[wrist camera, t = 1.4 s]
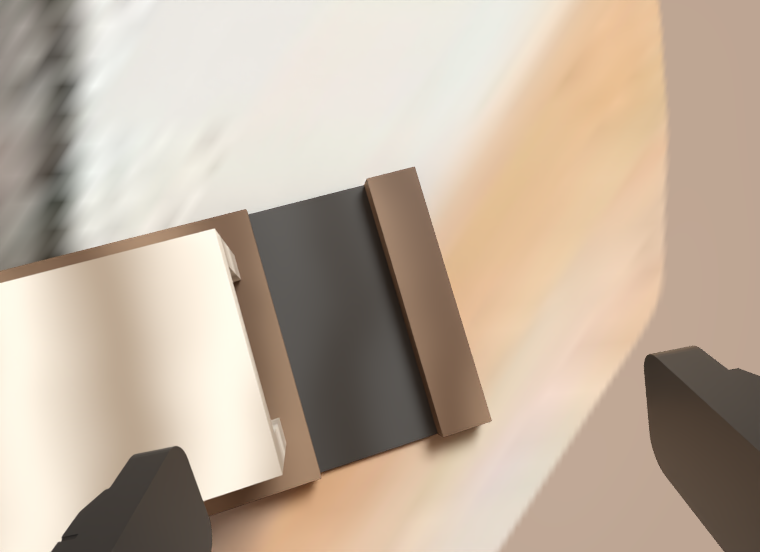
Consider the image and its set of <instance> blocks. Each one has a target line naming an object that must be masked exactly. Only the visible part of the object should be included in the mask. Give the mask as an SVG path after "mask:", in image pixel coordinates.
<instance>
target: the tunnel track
mask: <svg viewBox="0 0 760 552" xmlns="http://www.w3.org/2000/svg"><path fill="white" fill-rule="evenodd" d="M491 421H492V420H491V417H490V413H489V410H488V407H487V403H486V400H485V397H484V393H483V390H482V387H481V384H480V380H479V377H478V374H477V370H476V367H475V364H474V361H473V357H472V354H471V351H470V347H469V344H468V341H467V337H466V334H465V331H464V328H463V324H462V321H461V318H460V314H459V311H458V308H457V304H456V301H455V298H454V295H453V291H452V288H451V285H450V281H449V278H448V275H447V272H446V268H445V265H444V262H443V258H442V255H441V252H440V248H439V245H438V242H437V239H436V235H435V232H434V229H433V225H432V222H431V219H430V215H429V212H428V209H427V206H426V202H425V199H424V196H423V192H422V189H421V186H420V182H419V179H418V176H417V173H416V169H415V167H411V168H407V169H403V170H399V171H395V172H391V173H387V174H384V175H380V176H376V177H372V178H368V179H367V180H366V182H365V184H364V185H363V186H359V187H355V188H351V189H347V190H343V191H339V192H335V193H332V194H328V195H324V196H320V197H316V198H312V199H308V200H304V201H300V202H296V203H292V204H288V205H284V206H280V207H276V208H272V209H268V210H265V211H261V212H257V213H253V214H249V215H248V212H247V210H246V209H245V210H241V211H237V212H233V213H229V214H225V215H221V216H217V217H213V218H209V219H205V220H201V221H197V222H193V223H189V224H185V225H181V226H177V227H173V228H169V229H165V230H161V231H157V232H153V233H149V234H145V235H141V236H137V237H133V238H129V239H125V240H121V241H117V242H114V243H110V244H106V245H102V246H98V247H94V248H90V249H86V250H82V251H78V252H74V253H70V254H66V255H62V256H58V257H54V258H50V259H46V260H42V261H38V262H34V263H30V264H26V265H22V266H18V267H14V268H10V269H6V270H2V271H0V552H51V551H52V549H53V548H54V547H55V545H56V544H57V542H61V541H62V538H61V537H62V535H63V534H64V533H65V531H66V530H67V528H68V527H69V526H70V524H71V523H72V521H73V520H74V519H75V517H76V516H77V514H78V513H79V512H80V511H81V510H82V509H83V508H84V507H86V506H87V505H88V504H89V503H90V502H91V501H93V500H94V499H95V498H96V497H97V496H98V495H99V494H101V493H102V492H103V491H104V490H105V489H109V488H110V487H111V485H112V484H113V482H114V481H115V479H116V478H117V476H118V475H119V473H120V472H121V470H122V469H123V467H124V466H125V464H126V463H127V461H128V460H129V459H130V457H131V456H133V455H134V454H137V453H142V452H147V451H152V450H158V449H163V448H168V447H173V446H179V447H181V448H182V449H183V450H184V452H185V453H186V455H187V458H188V460H189V463H190V466H191V469H192V471H193V474H194V477H195V480H196V482H197V485H198V488H199V491H200V494H201V496H202V499H203V502H204V505H205V508H206V510H207V513H208V516H211V515H214V514H217V513H220V512H223V511H226V510H229V509H232V508H235V507H238V506H241V505H244V504H247V503H250V502H253V501H256V500H259V499H262V498H265V497H267V496H270V495H273V494H276V493H279V492H282V491H285V490H288V489H291V488H294V487H297V486H300V485H303V484H306V483H309V482H312V481H315V480H318V479H321V472H324V471H327V470H330V469H333V468H336V467H339V466H342V465H345V464H348V463H351V462H354V461H357V460H360V459H363V458H366V457H369V456H372V455H375V454H378V453H381V452H384V451H387V450H390V449H393V448H396V447H399V446H402V445H404V444H407V443H410V442H413V441H416V440H419V439H422V438H425V437H428V436H431V435H434V434H437V433H438V434H439V435H441V436H442V437H446V436H449V435H452V434H455V433H458V432H461V431H464V430H467V429H470V428H473V427H476V426H479V425H482V424H485V423H488V422H491Z"/></svg>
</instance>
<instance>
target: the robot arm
mask: <svg viewBox="0 0 760 552" xmlns="http://www.w3.org/2000/svg"><path fill="white" fill-rule="evenodd" d="M644 374H645V386H646V397H647V408H648V420H649V431H650V439H651V444H652V448H653V451H654V454H655V457H656V459H657V462H658V464H659V466H660V468H661V470H662V471H663V473H664V474H665V476H666V477H667V478H668V480H669V481H670V482H671V483H672V485H673V486H674V488H675V489H676V490H677V491H678V493H679V494H680V495H681V496H682V498H683V499H684V500H685V502H686V503H687V504H688V505H689V507H690V508H691V509H692V511H693V512H694V513H695V515H696V516H697V517H698V518H699V520H700V521H701V522H702V524H703V525H704V526H705V527H706V529H707V530H708V531H709V533H710V534H711V535H712V536H713V538H714V539H715V540H716V542H717V543H718V544H719V546H720V547H721V548H722V549H723V551H724V552H760V376H758V375H755V374H752V373H749V372H747V371H744V370H741V369H739V368H737V369H732V370H728V369H727V368H725V367H724V366H723V365H721V364H720V363H719V362H717V361H716V360H715V359H713V358H712V357H711V356H710V355H708V354H707V353H706V352H704V351H703V350H702V349H700V348H699V347H697V346H689V347H684V348H679V349H675V350H669V351H664V352H658V353H653V354H649V355H647V356H646V358H645V362H644ZM61 538H62V541H61V542H57V544H56V545H55V547H54V548H53V549H52V551H51V552H211V548H212V529H211V523H210V519H209V516H208V513H207V510H206V508H205V505H204V502H203V499H202V496H201V494H200V491H199V488H198V485H197V482H196V480H195V477H194V474H193V471H192V469H191V466H190V463H189V460H188V458H187V455H186V453H185V452H184V450H183V449H182V448H181V447H179V446H173V447H168V448H163V449H158V450H152V451H147V452H142V453H137V454H134V455H133V456H131V457H130V459H129V460H128V461H127V463H126V464H125V466H124V467H123V469H122V470H121V472H120V473H119V475H118V476H117V478H116V479H115V481H114V482H113V484H112V485H111V487H110V488H109V489H105V490H104V491H103V492H102V493H101V494H99V495H98V496H97V497H96V498H95V499H94V500H93V501H91V502H90V503H89V504H88V505H87V506H86V507H84V508H83V509H82V510H81V511H80V512H79V513H78V514H77V516H76V517H75V519H74V520H73V521H72V523H71V524H70V526H69V527H68V528H67V530H66V531H65V533H64V534H63V535H62V537H61Z"/></svg>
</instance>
